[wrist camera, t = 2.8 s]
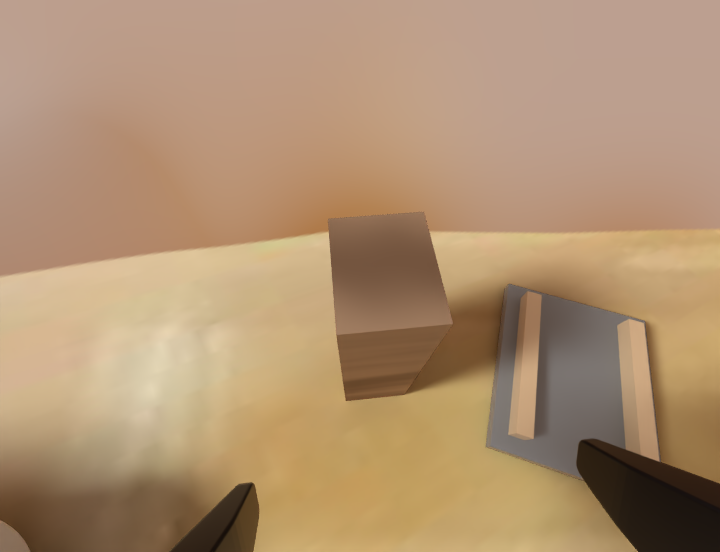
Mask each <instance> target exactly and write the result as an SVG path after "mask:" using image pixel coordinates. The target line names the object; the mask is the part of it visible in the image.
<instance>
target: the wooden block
mask: <svg viewBox="0 0 720 552" xmlns="http://www.w3.org/2000/svg"><path fill="white" fill-rule="evenodd" d="M328 224H329V239H330V253H331V267H332V280H333V294H334V308H335V322H336V335H337V342H338V349H339V356H340V363H341V370H342V377H343V384H344V391H345V398H346V401H351V400H360V399H369V398H378V397H388V396H397V395H404V394H405V393H406V391H407V390H408V389H409V387H410V386H411V384H412V383H413V381H414V380H415V378H416V377H417V376H418V374H419V373H420V371H421V370H422V368H423V367H424V365H425V364H426V363H427V361H428V360H429V358H430V357H431V355H432V354H433V352H434V351H435V350H436V348H437V347H438V345H439V344H440V342H441V341H442V339H443V338H444V336H445V335H446V334H447V332H448V331H449V329H450V328H451V326H452V325H453V321H452V317H451V314H450V310H449V306H448V302H447V298H446V294H445V291H444V287H443V283H442V279H441V275H440V271H439V267H438V264H437V260H436V256H435V252H434V248H433V244H432V241H431V237H430V233H429V229H428V225H427V221H426V218H425V214H424V212H416V213H402V214H387V215H374V216H360V217H346V218H334V219H328Z"/></svg>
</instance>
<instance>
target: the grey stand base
mask: <svg viewBox="0 0 720 552" xmlns="http://www.w3.org/2000/svg"><path fill="white" fill-rule="evenodd" d="M590 438H595V439H598V440H601V441H604V442H607V443H609V444H612V445H615V446H618V447H620V448H623V449H626V450H629V451H631V452H634V453H637V454H640V455H642V456H645V457H648V458H651V459H653V460H656V461H659V462H661V458H660V449H659V441H658V432H657V423H656V414H655V405H654V397H653V388H652V379H651V370H650V361H649V352H648V344H647V335H646V326H645V321H643V320H639V319H636V318H632V317H628V316H625V315H621V314H617V313H614V312H610V311H606V310H603V309H599V308H596V307H592V306H588V305H585V304H581V303H577V302H574V301H570V300H566V299H563V298H559V297H555V296H552V295H548V294H544V293H541V292H537V291H534V290H530V289H526V288H523V287H519V286H515V285H512V284H508V285H507V286H506V288H505V291H504V299H503V307H502V316H501V324H500V332H499V341H498V349H497V357H496V366H495V374H494V382H493V391H492V399H491V407H490V416H489V424H488V432H487V441H486V447H487V448H490V449H493V450H496V451H499V452H502V453H505V454H508V455H510V456H513V457H516V458H519V459H522V460H525V461H528V462H531V463H533V464H536V465H539V466H542V467H545V468H548V469H551V470H554V471H557V472H559V473H562V474H565V475H568V476H571V477H574V478H577V479H580V480H583V478H582V477H581V475H580V474H579V472H578V469H577V466H576V459H577V451H578V444H579V442H580V440H582V439H590ZM583 481H584V480H583Z"/></svg>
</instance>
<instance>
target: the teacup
mask: <svg viewBox="0 0 720 552" xmlns="http://www.w3.org/2000/svg"><path fill="white" fill-rule="evenodd" d="M0 552H30V550H29V548H28V546H27V544H26V542H25V541H24V539H23V538H22V537H21V536H20V534H19V533H18V532H17V531H16V530H14V529H13V528H12V527H11V526H9V525H8V524H6V523H5V522H3V521H1V520H0Z"/></svg>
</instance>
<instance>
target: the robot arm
mask: <svg viewBox="0 0 720 552" xmlns="http://www.w3.org/2000/svg"><path fill="white" fill-rule="evenodd" d="M576 466H577V469H578V472H579V474H580V475H581V477H582V478H583V480H584V481H585V482H586V484H587V485H588V487H589V488H590V489H591V491H592V492H593V494H594V495H595V496H596V498H597V499H598V501H599V502H600V503H601V505H602V506H603V508H604V509H605V511H606V512H607V513H608V515H609V516H610V518H611V519H612V520H613V521H614V523H615V524H616V525H617V527H618V528H619V529H620V531H621V532H622V533H623V534H624V535H625V537H626V538H627V539H628V540H629V541H630V543H631V544H632V545H633V546H634V547H635V549H636V550H637V551H638V552H720V484H719V483H717V482H714V481H711V480H708V479H706V478H703V477H700V476H697V475H695V474H692V473H689V472H686V471H684V470H681V469H678V468H675V467H673V466H670V465H667V464H664V463H662V462H659V461H656V460H653V459H651V458H648V457H645V456H642V455H640V454H637V453H634V452H631V451H629V450H626V449H623V448H620V447H618V446H615V445H612V444H609V443H607V442H604V441H601V440H598V439H595V438H590V439H582V440H580V442H579V444H578V451H577V459H576ZM258 520H259V504H258V499H257V494H256V489H255V485H254V483H252V482H250V483H243V484H238V485H237V486H236V487H235V488H234V489H233V490H232V491H231V492H230V493H229V494H228V495H227V496H226V497H225V498H224V499H223V500H221V501H220V502H219V503H218V504H217V505H216V506H215V507H214V508H213V509H212V510H211V511H210V512H209V513H208V514H207V515H206V516H205V517H204V518H203V519H202V520H201V521H200V522H199V523H198V524H197V525H196V526H195V527H194V528H193V529H192V530H191V531H190V532H189V533H188V534H187V535H186V536H185V537H184V538H183V539H182V540H181V541H180V542H179V543H178V544H177V545H176V546H175V547H174V548H173V549H172V550H170V551H169V552H253V550H254V544H255V538H256V532H257V526H258Z"/></svg>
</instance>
